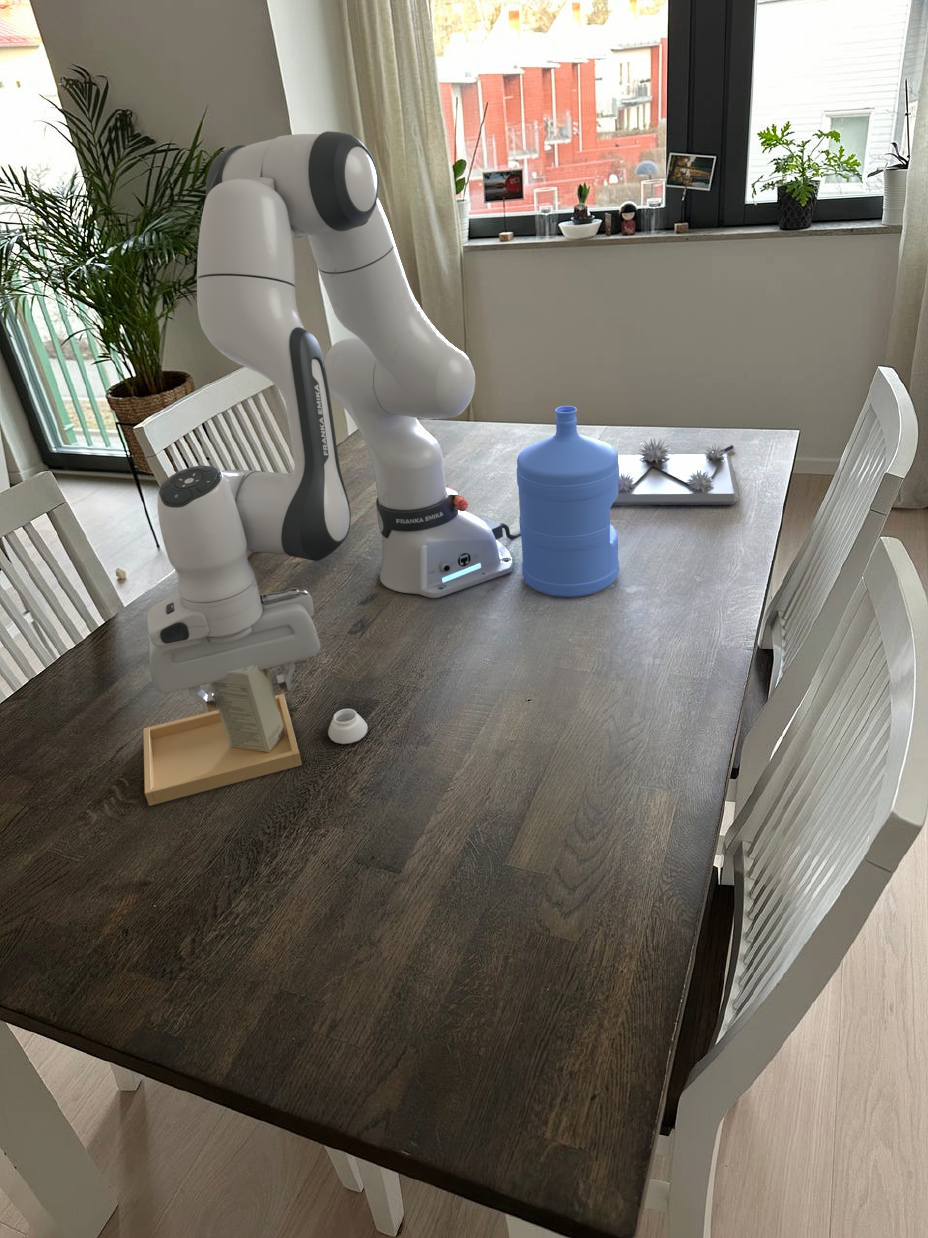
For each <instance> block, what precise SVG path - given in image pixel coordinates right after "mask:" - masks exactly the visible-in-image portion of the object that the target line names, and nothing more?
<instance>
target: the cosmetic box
mask: <svg viewBox="0 0 928 1238" xmlns="http://www.w3.org/2000/svg"><path fill="white" fill-rule="evenodd" d="M209 685H210V689H211V692H213V695H214V699H215V702H216V707H217V710H218V711H219V714H220V717H221V721H222V724H223V727H224V730H225V733H226V737H227V740H228V743H229V746H230V747H235V748H242V749H249V750H256V751H264V752H270V751H271V750H272V749H273V747H274V746H275V745H276V744H277V742H278V741H279V740H280V739H281V737H282V736H283V734H284V733H285V731H284V727H283V723H282V719H281V716H280V712H279V708H278V705H277V701H276V697H275V696H276V694H275V690H274V685H273V683H272V679H271V676H270V672H269V668H267V669H263V670H259V669H258V667H257V665H256V666H255V665H253V666H249V667H244V668H241V669H237V670H233V671H230V672H228V678H227V679H223V680H219V681H215V682H211V683H209Z"/></svg>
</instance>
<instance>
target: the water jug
mask: <svg viewBox="0 0 928 1238" xmlns="http://www.w3.org/2000/svg"><path fill="white" fill-rule="evenodd" d="M577 411H578V409H577V407H575V406H572V405H562V406H558V407H557V408H555V410H554V413H555V416H556V419H555V428H556V429H555V431H556V432H555V434H554V435H552V436H550V437H547V438H545V439H543V440H540V441H537V442H535V443H532V444H531V445H528V446H527V447H525V448H524V449H522V450H521V451H520V453H519V454H518V456H517V459H516V482H517V487H518V502H519V520H518V522H519V534H520V533H521V536H520V539H521V541H520V542H521V557H522V558H521V559H522V562H521V572H522V577H523V580H524V581H525V582H526V584H527V585H528V586H529V587H530V588H532V589H533V590H534V591H537V592H539V593H541V594H544V595H548V596H553V597H558V598H578V597H584V596H589V595H593V594H596V593H599V592H601V591H603V590H605V589H607V588H609V587H610V586H611V585H612V584H613V583H614V582H615V581H616V580H617V578H618V575H619V573H620V560H619V534H618V532H617V530H616V528H615V527H614V526H613V525H612V524H611V509H612V506H613V505H612V504H613V502H615V500H616V499H617V497H618V482H619V463H618V455H619V453H618V451H617V450H616V449H615V447H614V446H612V445H611V444H609V443H608V442H605V441H602V440H600V439H596V438H593V437H589V436H586V435H582V434H581V433H578V430H577V427H578V426H577V425H578V419H577Z"/></svg>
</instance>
